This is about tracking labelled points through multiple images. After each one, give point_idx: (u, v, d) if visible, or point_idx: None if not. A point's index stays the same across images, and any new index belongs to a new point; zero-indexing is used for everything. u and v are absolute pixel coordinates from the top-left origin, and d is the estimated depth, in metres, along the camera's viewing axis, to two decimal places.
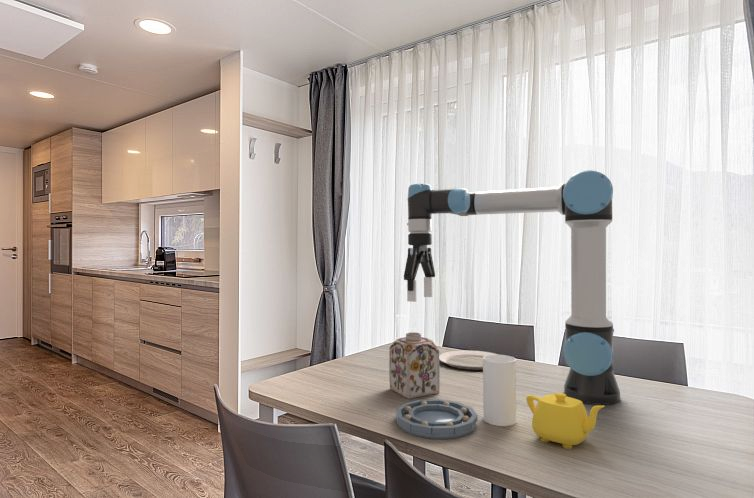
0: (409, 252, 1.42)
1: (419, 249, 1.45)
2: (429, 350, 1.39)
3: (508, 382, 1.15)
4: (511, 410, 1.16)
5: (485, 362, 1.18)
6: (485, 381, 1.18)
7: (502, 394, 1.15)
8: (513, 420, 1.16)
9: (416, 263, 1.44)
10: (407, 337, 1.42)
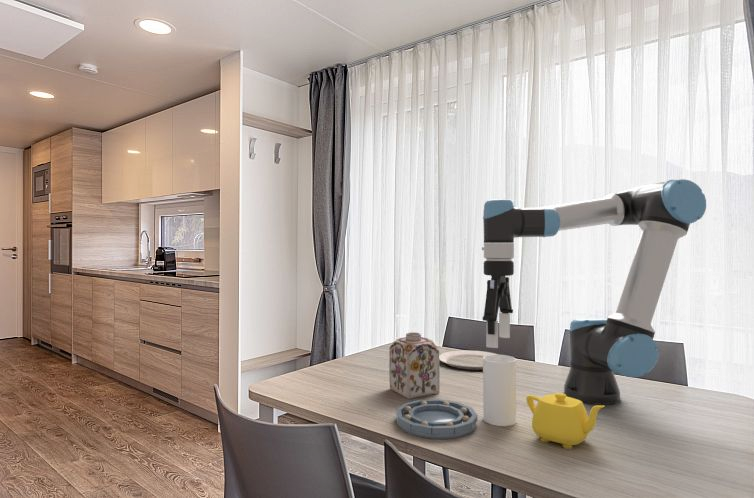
0: (489, 285, 1.13)
1: (500, 281, 1.16)
2: (429, 350, 1.39)
3: (508, 382, 1.15)
4: (511, 410, 1.16)
5: (485, 362, 1.18)
6: (485, 381, 1.18)
7: (502, 394, 1.15)
8: (513, 420, 1.16)
9: (497, 299, 1.15)
10: (407, 337, 1.42)
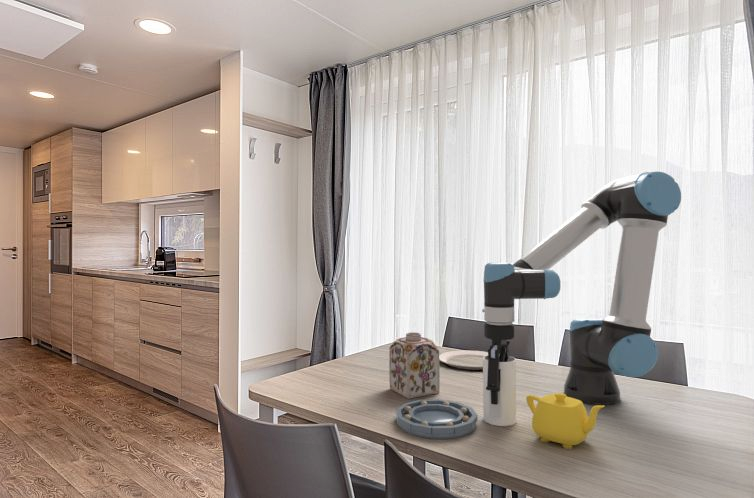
0: (490, 355, 1.14)
1: (500, 345, 1.16)
2: (429, 350, 1.39)
3: (508, 382, 1.15)
4: (511, 410, 1.16)
5: (485, 362, 1.18)
6: (485, 381, 1.18)
7: (502, 394, 1.15)
8: (513, 420, 1.16)
9: None
10: (407, 337, 1.42)
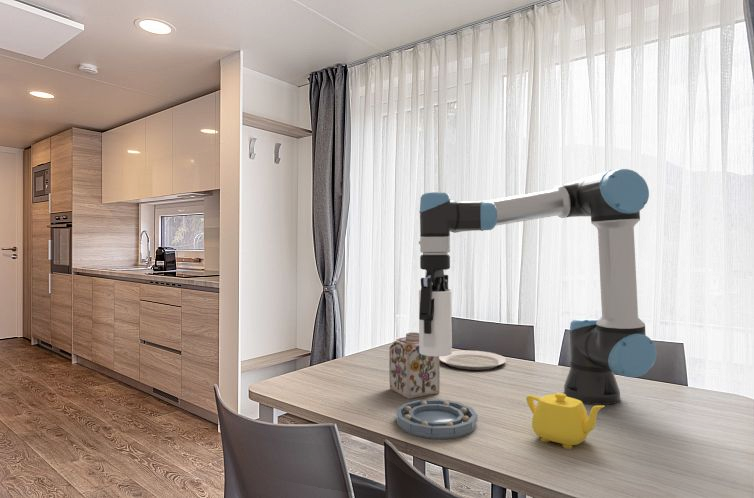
0: (423, 284, 1.12)
1: (434, 275, 1.14)
2: None
3: (442, 312, 1.14)
4: (445, 340, 1.14)
5: (420, 293, 1.16)
6: None
7: (436, 324, 1.14)
8: (447, 351, 1.15)
9: None
10: (407, 337, 1.42)
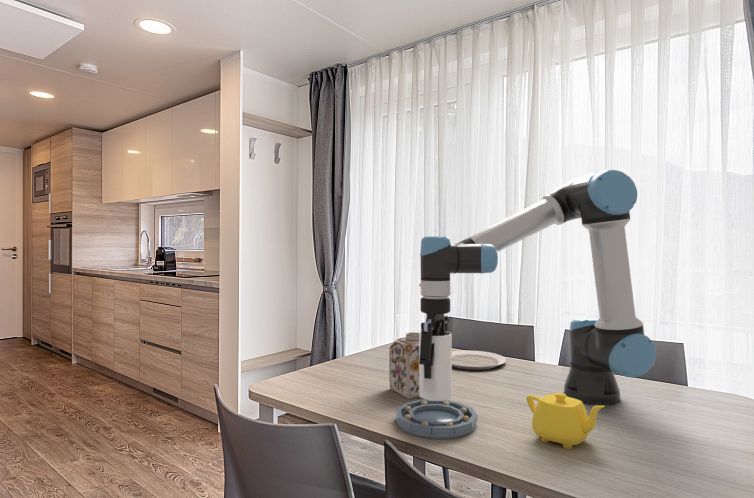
0: (423, 329, 1.12)
1: (435, 319, 1.14)
2: None
3: (442, 356, 1.14)
4: (445, 385, 1.14)
5: (420, 336, 1.16)
6: None
7: (436, 368, 1.14)
8: (447, 395, 1.15)
9: None
10: (407, 337, 1.42)
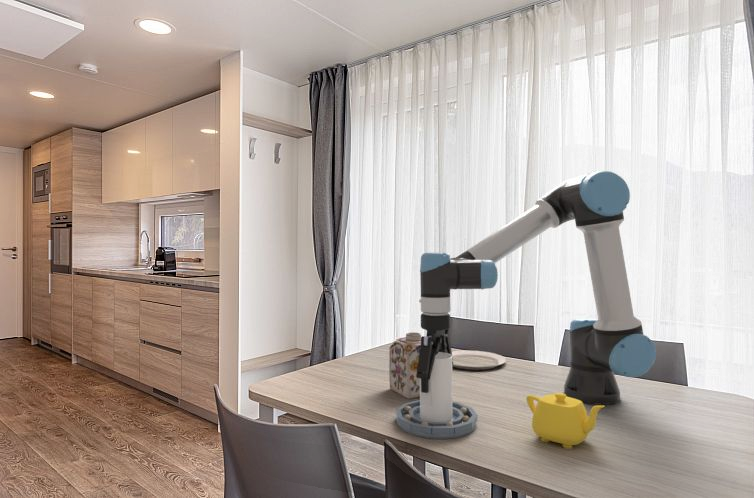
0: (423, 342, 1.12)
1: (435, 336, 1.15)
2: None
3: (443, 380, 1.14)
4: (446, 408, 1.14)
5: None
6: None
7: (436, 391, 1.14)
8: (448, 418, 1.15)
9: (431, 355, 1.13)
10: (407, 337, 1.42)
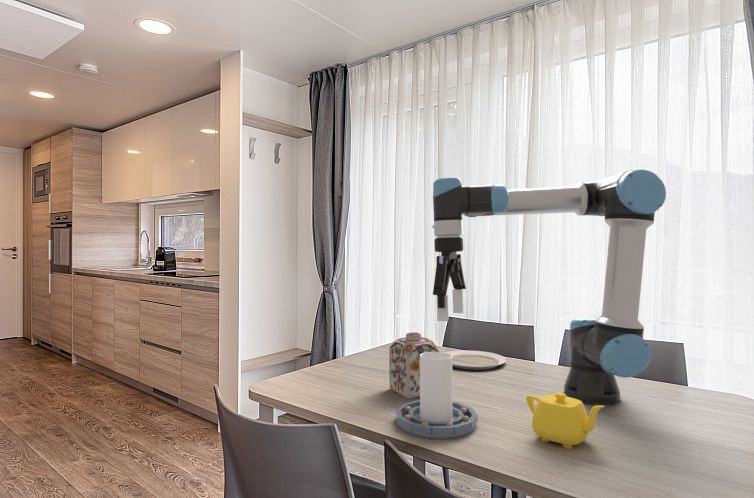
0: (438, 261, 1.17)
1: (449, 257, 1.20)
2: (429, 350, 1.39)
3: (442, 379, 1.14)
4: (446, 408, 1.14)
5: (421, 359, 1.16)
6: (421, 378, 1.17)
7: (436, 391, 1.14)
8: (448, 418, 1.15)
9: (447, 274, 1.18)
10: (407, 337, 1.42)
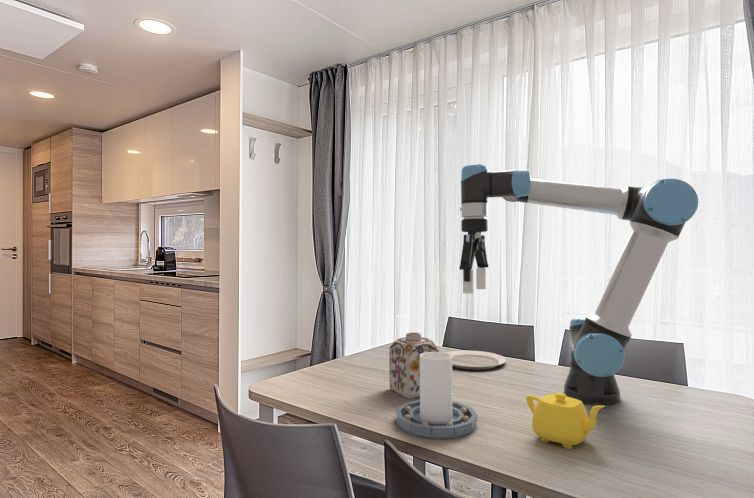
0: (465, 239, 1.29)
1: (475, 236, 1.32)
2: (429, 350, 1.39)
3: (443, 380, 1.14)
4: (446, 408, 1.14)
5: (421, 359, 1.16)
6: (421, 378, 1.17)
7: (436, 391, 1.14)
8: (448, 418, 1.15)
9: (472, 251, 1.31)
10: (407, 337, 1.42)
